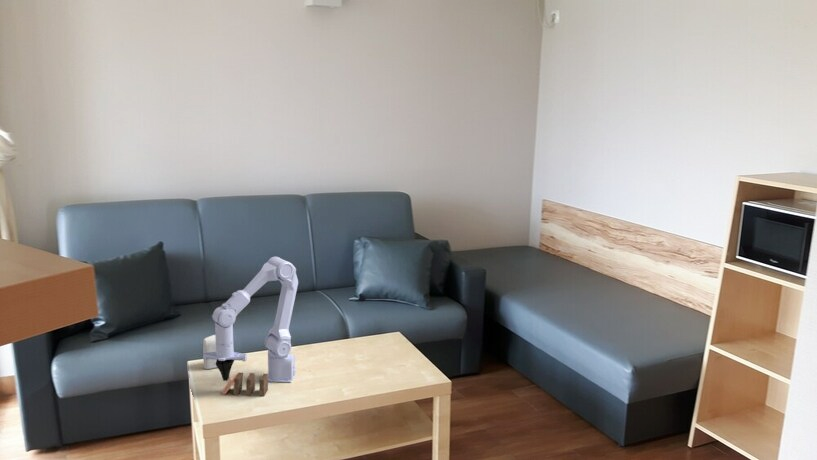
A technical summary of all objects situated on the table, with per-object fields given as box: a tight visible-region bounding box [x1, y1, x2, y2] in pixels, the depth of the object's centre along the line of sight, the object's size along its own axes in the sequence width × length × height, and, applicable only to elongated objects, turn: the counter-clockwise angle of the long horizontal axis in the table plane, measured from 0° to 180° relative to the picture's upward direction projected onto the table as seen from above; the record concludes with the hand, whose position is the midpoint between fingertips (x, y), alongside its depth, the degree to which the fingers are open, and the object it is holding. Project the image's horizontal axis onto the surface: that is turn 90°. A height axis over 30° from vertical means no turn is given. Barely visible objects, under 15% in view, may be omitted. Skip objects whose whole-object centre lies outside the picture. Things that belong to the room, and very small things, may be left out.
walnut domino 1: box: [233, 372, 244, 396], centre depth 211 cm, size 2×5×6 cm, turn 178°
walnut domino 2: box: [245, 372, 256, 397], centre depth 211 cm, size 2×5×6 cm, turn 178°
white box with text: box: [202, 334, 218, 370], centre depth 231 cm, size 10×4×12 cm, turn 123°
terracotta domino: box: [221, 372, 238, 395], centre depth 212 cm, size 2×5×6 cm
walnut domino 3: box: [258, 373, 269, 397], centre depth 211 cm, size 2×5×6 cm, turn 178°
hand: (225, 379), depth 211 cm, fingers closed
